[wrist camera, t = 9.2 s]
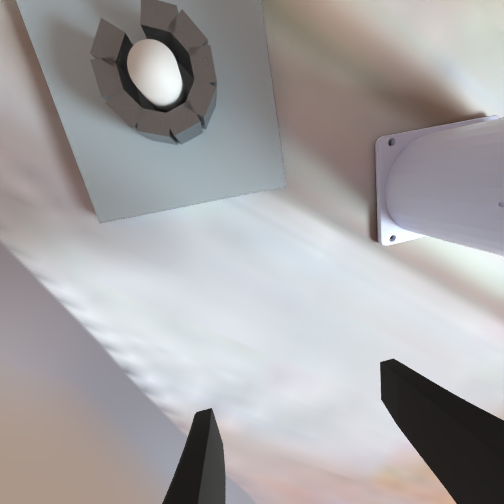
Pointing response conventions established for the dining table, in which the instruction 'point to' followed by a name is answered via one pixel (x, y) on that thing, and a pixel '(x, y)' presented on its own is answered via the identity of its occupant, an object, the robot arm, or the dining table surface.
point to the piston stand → (161, 105)
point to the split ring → (185, 52)
